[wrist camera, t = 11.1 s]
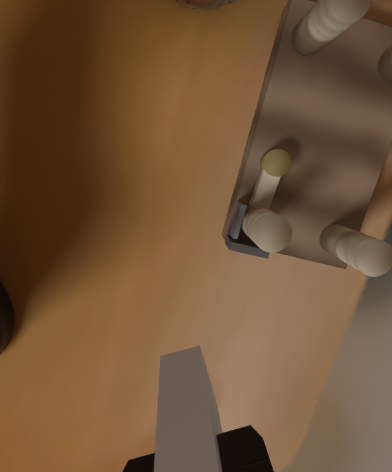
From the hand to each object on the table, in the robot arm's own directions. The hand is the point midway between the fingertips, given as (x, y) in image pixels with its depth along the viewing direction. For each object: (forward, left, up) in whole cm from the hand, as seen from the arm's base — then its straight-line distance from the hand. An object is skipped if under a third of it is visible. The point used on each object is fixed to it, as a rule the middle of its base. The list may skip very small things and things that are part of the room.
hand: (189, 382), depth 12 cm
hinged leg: (+2, +10, -23) cm, 25 cm away
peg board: (+3, +17, -26) cm, 31 cm away
